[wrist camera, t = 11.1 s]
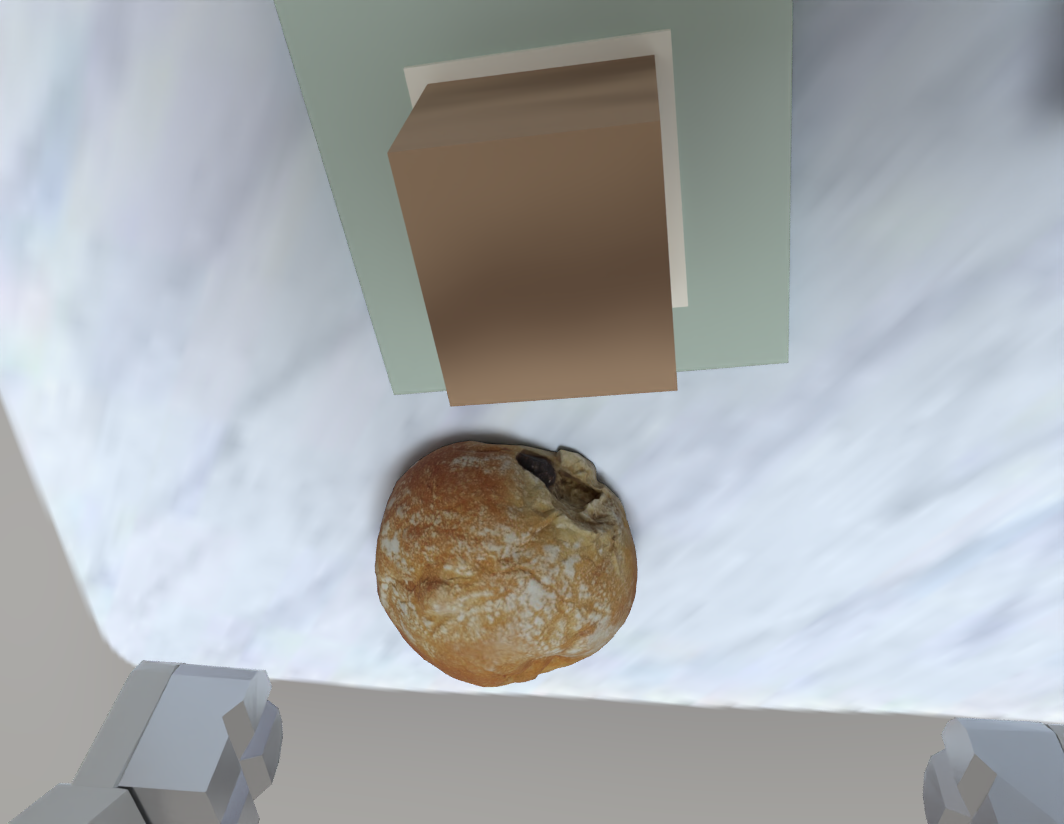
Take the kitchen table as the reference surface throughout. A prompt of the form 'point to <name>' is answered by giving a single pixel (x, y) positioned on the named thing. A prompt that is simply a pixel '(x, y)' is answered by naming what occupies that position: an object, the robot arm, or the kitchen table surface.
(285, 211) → the kitchen table surface
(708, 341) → the mat
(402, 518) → the bread roll
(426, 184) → the walnut block
